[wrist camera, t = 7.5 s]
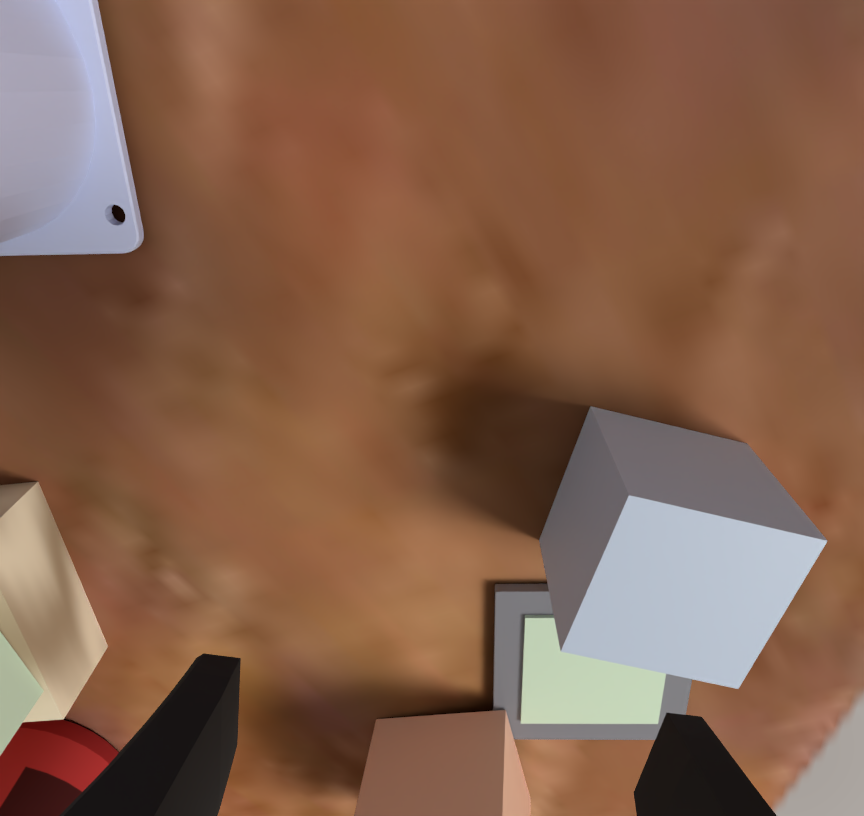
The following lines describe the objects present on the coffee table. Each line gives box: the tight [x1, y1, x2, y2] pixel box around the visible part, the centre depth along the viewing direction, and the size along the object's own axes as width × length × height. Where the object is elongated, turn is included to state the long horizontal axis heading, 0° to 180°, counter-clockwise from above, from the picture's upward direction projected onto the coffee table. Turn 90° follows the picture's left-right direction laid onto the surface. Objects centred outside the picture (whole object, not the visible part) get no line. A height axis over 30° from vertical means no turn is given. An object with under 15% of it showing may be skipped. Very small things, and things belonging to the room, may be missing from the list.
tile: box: [493, 584, 692, 740], centre depth 24 cm, size 7×7×1 cm
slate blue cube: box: [539, 406, 827, 689], centre depth 20 cm, size 5×5×5 cm
